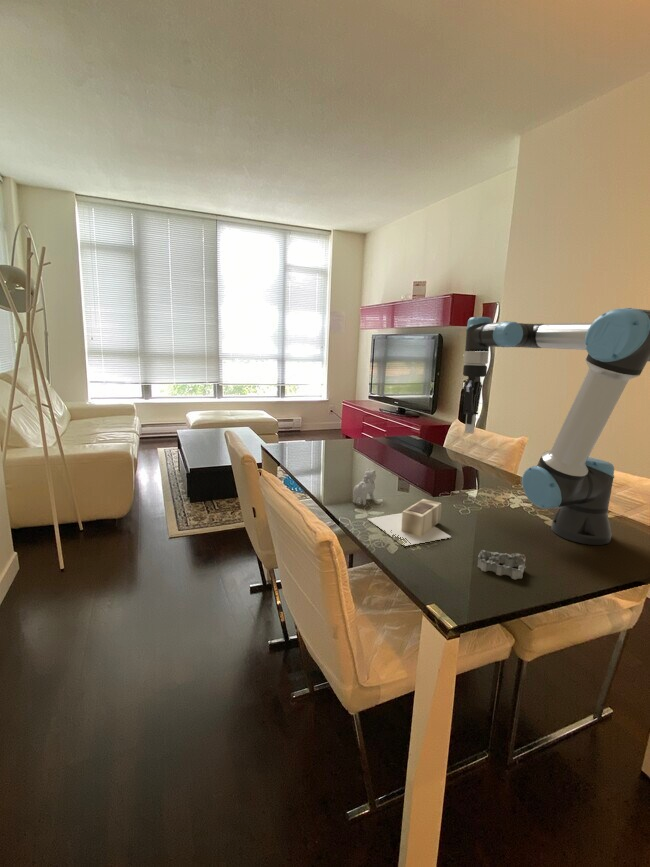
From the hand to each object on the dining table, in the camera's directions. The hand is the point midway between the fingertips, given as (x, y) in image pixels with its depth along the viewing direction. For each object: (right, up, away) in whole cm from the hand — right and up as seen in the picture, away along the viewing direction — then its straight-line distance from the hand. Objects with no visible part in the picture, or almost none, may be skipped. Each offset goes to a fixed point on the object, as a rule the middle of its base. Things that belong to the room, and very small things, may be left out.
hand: (469, 432), depth 148 cm
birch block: (-17, -24, -16) cm, 33 cm away
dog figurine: (-36, -24, +2) cm, 44 cm away
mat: (-26, -29, -21) cm, 44 cm away
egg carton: (-7, -34, -44) cm, 56 cm away
